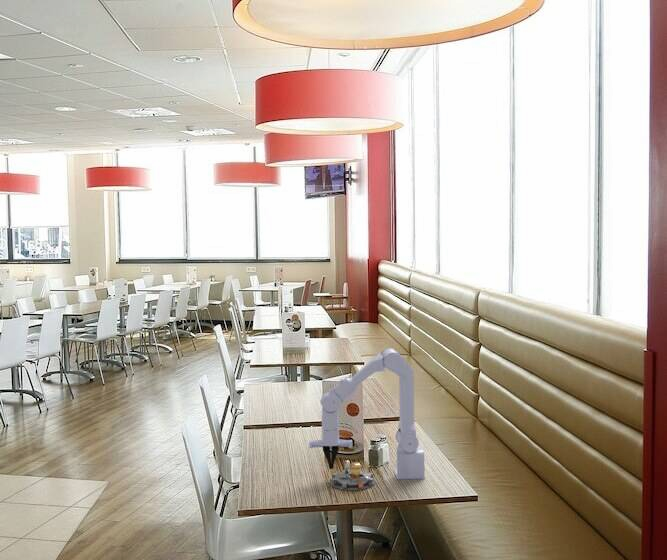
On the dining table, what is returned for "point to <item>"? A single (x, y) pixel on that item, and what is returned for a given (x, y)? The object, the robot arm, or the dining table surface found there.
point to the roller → (355, 470)
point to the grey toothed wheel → (347, 481)
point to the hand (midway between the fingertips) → (331, 467)
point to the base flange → (352, 487)
